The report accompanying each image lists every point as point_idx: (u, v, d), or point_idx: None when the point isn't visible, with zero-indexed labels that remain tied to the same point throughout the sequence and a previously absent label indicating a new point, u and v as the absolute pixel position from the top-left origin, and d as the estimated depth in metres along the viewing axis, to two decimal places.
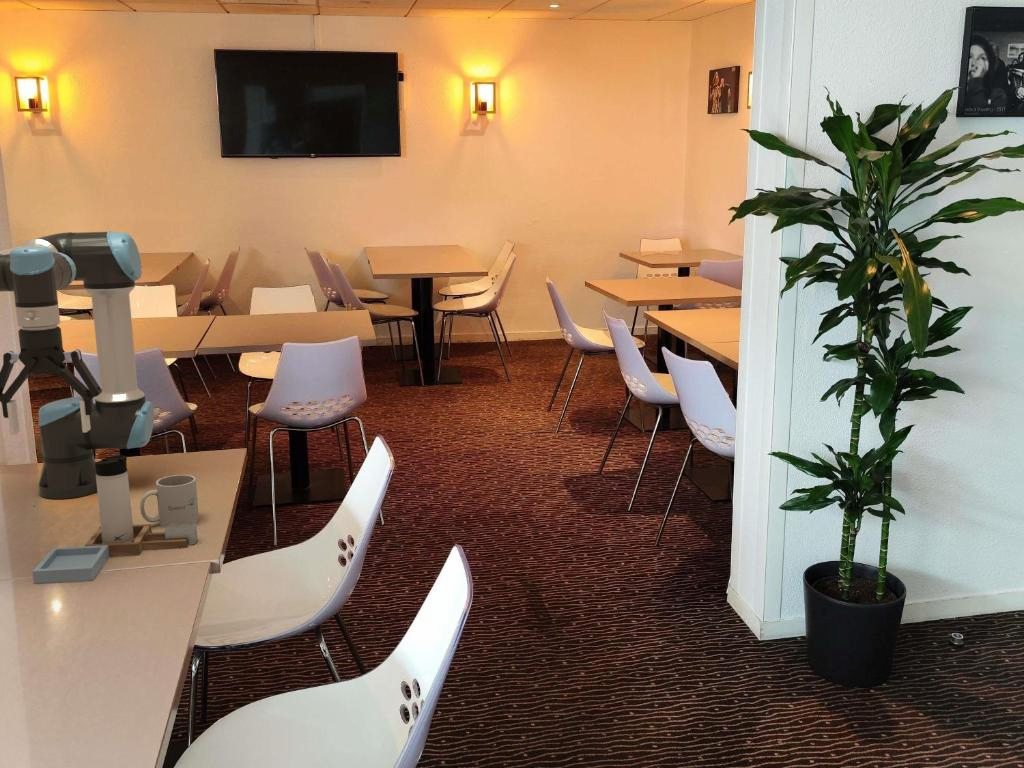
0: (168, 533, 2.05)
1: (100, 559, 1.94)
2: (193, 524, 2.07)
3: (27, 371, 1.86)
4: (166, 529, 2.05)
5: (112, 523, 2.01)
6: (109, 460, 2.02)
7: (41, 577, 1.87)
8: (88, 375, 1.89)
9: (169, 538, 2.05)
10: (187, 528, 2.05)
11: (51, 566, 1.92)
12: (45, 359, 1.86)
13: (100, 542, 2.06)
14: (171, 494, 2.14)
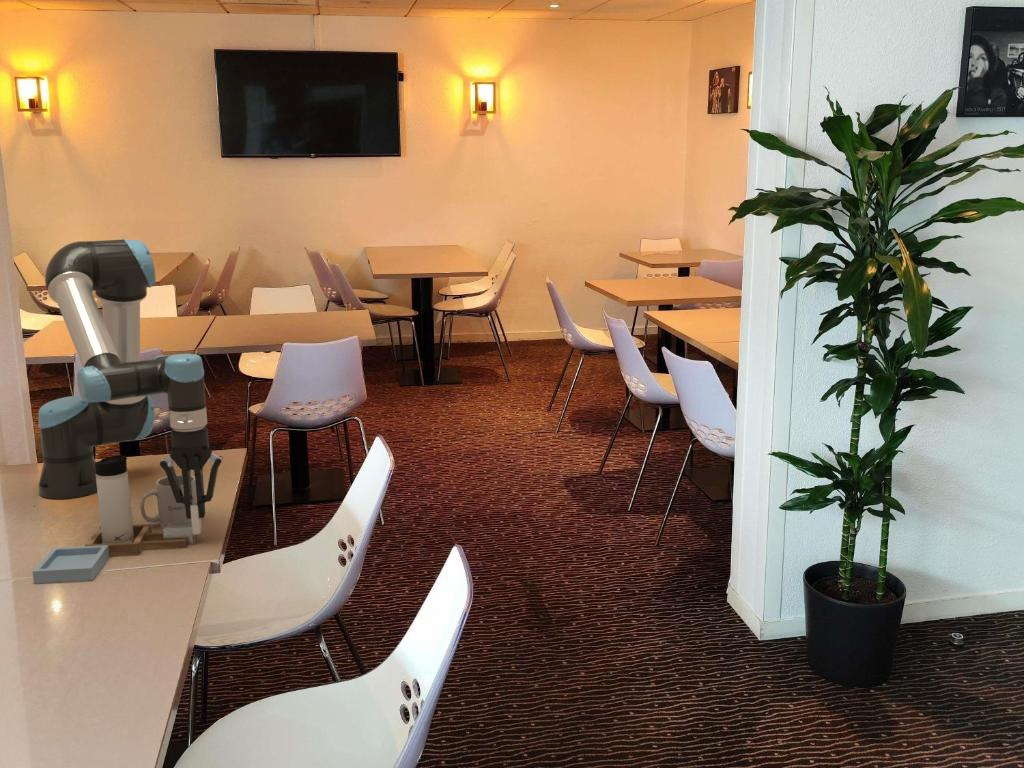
0: (167, 533, 2.05)
1: (100, 559, 1.94)
2: (191, 524, 2.07)
3: (186, 469, 2.02)
4: (164, 529, 2.05)
5: (112, 523, 2.01)
6: (109, 460, 2.02)
7: (41, 577, 1.87)
8: (214, 482, 2.05)
9: (167, 538, 2.05)
10: (185, 528, 2.05)
11: (51, 566, 1.92)
12: (196, 457, 2.02)
13: (100, 542, 2.06)
14: (171, 494, 2.14)
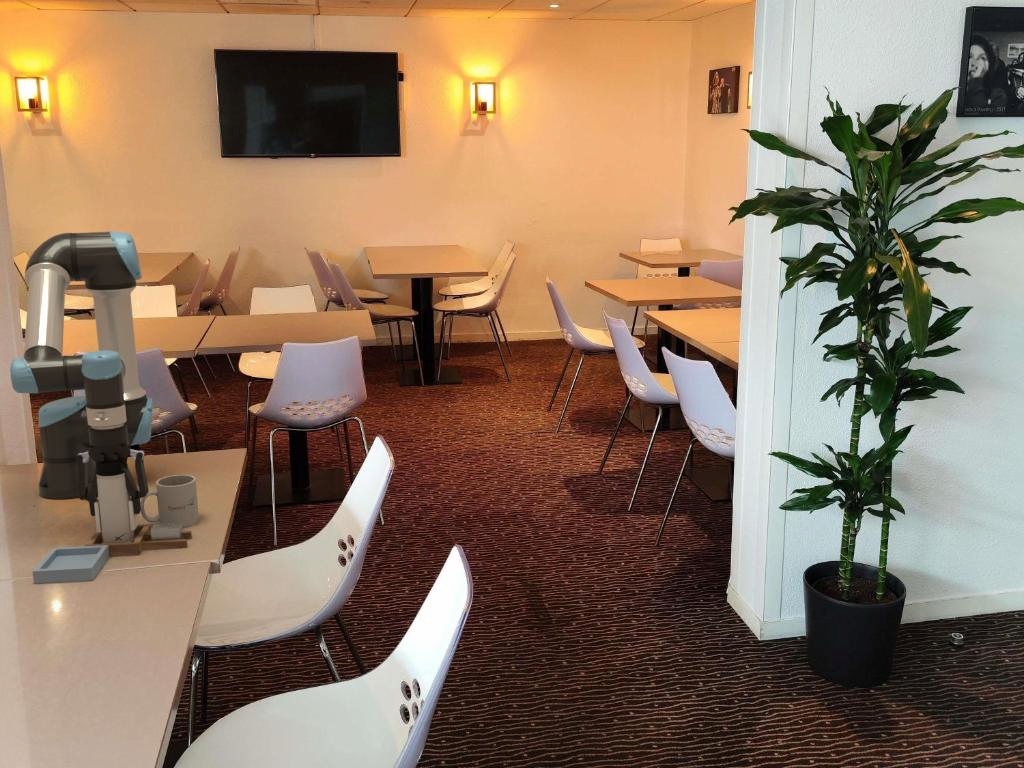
0: (154, 533, 2.05)
1: (100, 559, 1.94)
2: (179, 525, 2.07)
3: None
4: (152, 530, 2.04)
5: (112, 523, 2.01)
6: None
7: (41, 577, 1.87)
8: (143, 477, 2.02)
9: (155, 539, 2.05)
10: (173, 529, 2.05)
11: (51, 566, 1.92)
12: (113, 455, 1.99)
13: (100, 542, 2.06)
14: (171, 494, 2.14)
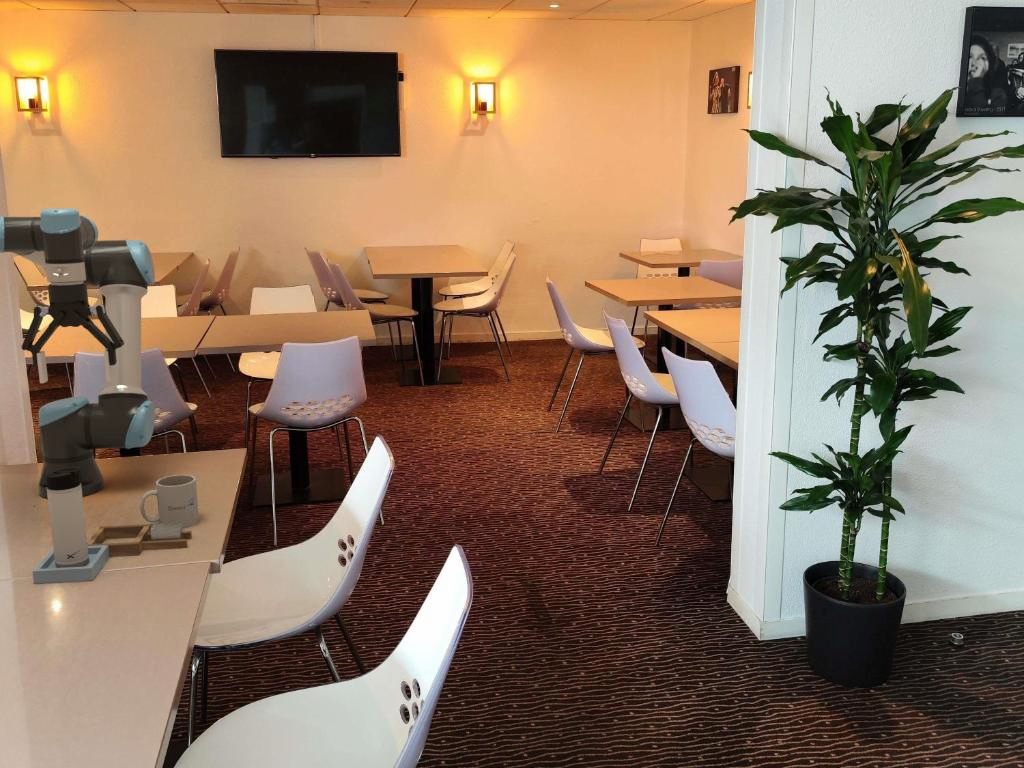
0: (154, 533, 2.05)
1: (100, 559, 1.94)
2: (179, 525, 2.07)
3: (56, 323, 2.01)
4: (152, 530, 2.04)
5: (64, 540, 1.89)
6: (61, 473, 1.90)
7: (41, 577, 1.87)
8: (112, 328, 2.04)
9: (155, 539, 2.05)
10: (173, 529, 2.05)
11: (51, 566, 1.92)
12: (72, 312, 2.01)
13: (100, 542, 2.06)
14: (171, 494, 2.14)
